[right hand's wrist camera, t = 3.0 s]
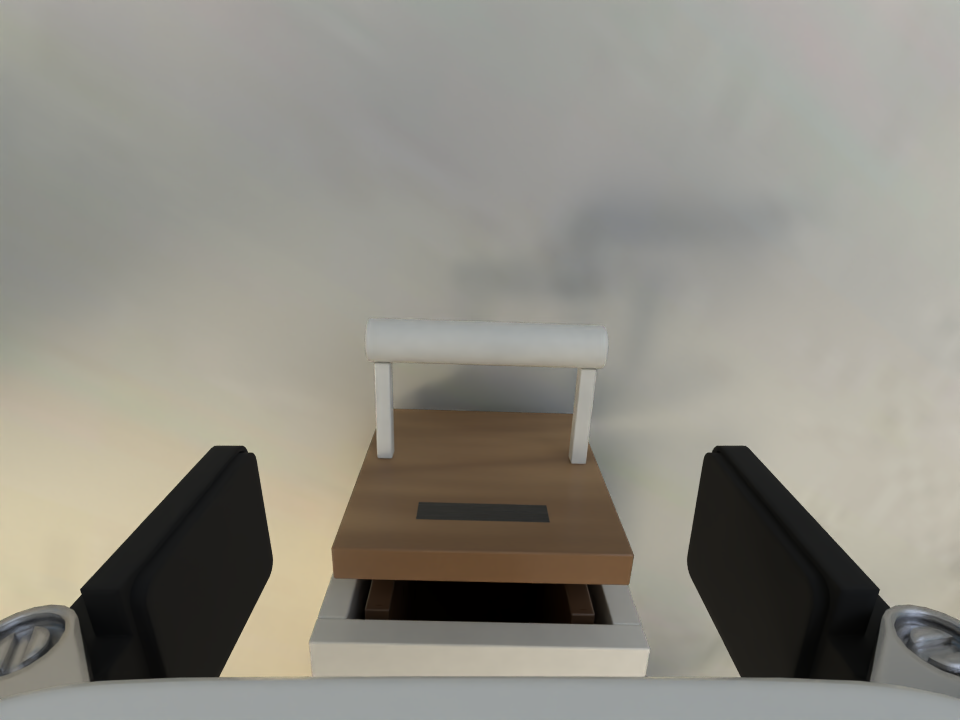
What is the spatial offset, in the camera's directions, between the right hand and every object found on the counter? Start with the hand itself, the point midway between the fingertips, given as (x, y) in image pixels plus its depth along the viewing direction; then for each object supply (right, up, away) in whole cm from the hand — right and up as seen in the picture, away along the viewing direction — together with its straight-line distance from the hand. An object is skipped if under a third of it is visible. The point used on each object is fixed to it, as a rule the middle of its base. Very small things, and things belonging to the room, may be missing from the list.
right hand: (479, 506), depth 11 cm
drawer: (0, -4, +16) cm, 17 cm away
